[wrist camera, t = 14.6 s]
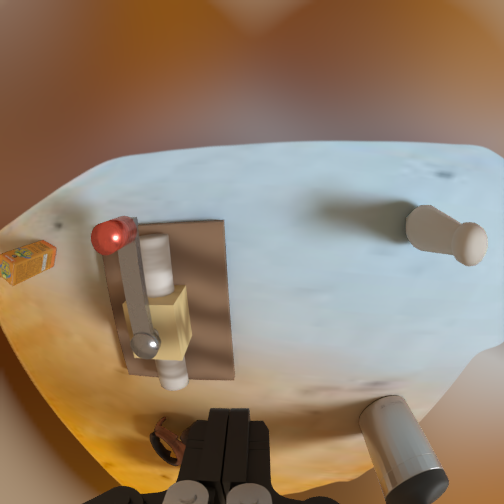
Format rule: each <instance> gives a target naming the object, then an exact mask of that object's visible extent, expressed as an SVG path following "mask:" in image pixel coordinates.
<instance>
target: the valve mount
mask: <svg viewBox="0 0 504 504" xmlns="http://www.w3.org/2000/svg"><path fill="white" fill-rule="evenodd" d="M138 231H139V240H140V248H141V256H142V263H143V270H144V277H145V284H146V290H147V296H148V302H149V308H150V313H151V319H152V324H153V329H154V331H155V332H156V333H157V334H158V335H159V337H160V339H161V347H160V349H159V350H158V352H157V354H156V356H155V357H154V358H152V359H142V358H140V357H138V356H137V355H136V354H135V353H134V352H133V351H132V349H131V346H130V342H131V339H132V338H133V331H132V327H131V322H130V318H129V313H128V308H127V303H126V298H125V293H124V287H123V282H122V276H121V270H120V263H119V257H118V250H117V251H116V252H114V253H112V254H110V255H103V261H104V268H105V273H106V279H107V285H108V290H109V295H110V300H111V305H112V310H113V314H114V319H115V323H116V327H117V331H118V336H119V340H120V343H121V347H122V351H123V355H124V358H125V362H126V365H127V369H128V372H129V375H139V376H149V377H159V380H160V384H161V386H162V387H163V388H164V389H166V390H171V391H175V390H180V389H183V388H184V387H186V386H187V385H188V383H189V379H196V380H234V377H235V371H234V359H233V347H232V334H231V321H230V307H229V293H228V278H227V262H226V246H225V228H224V220H215V221H194V222H175V223H157V224H142V225H138Z"/></svg>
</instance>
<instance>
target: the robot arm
mask: <svg viewBox="0 0 504 504" xmlns="http://www.w3.org/2000/svg"><path fill="white" fill-rule="evenodd" d="M359 425H360V428H361V431H362V434H363V437H364V440H365V442H366V445H367V448H368V451H369V454H370V457H371V460H372V462H373V465H374V468H375V471H376V474H377V477H378V480H379V483H380V486H381V489H382V492H383V495H384V498H385V501H386V504H431V503H433V502H434V501H435V500H437V499H438V498H439V497H440V496H441V495H442V494H443V493H444V492H445V490H446V489H447V487H448V485H449V480H448V478H447V476H446V474H445V472H444V470H443V468H442V466H441V464H440V462H439V460H438V459H437V456H436V455H435V453H434V451H433V449H432V447H431V445H430V443H429V442H428V440H427V438H426V436H425V434H424V432H423V431H422V429H421V427H420V425H419V424H418V422H417V420H416V418H415V416H414V415H413V413H412V411H411V409H410V408H409V406H408V404H407V403H406V401H405V399H404V398H402V397H400V396H388V397H384V398H381V399H379V400H377V401H375V402H373V403H372V404H371V405H369V406H368V407H367V408H366V409H365V410H364V411H363V413H362V414H361V416H360V418H359ZM83 504H339V503H338V502H336V501H335V500H333V499H331V498H328V497H320V496H318V497H312V498H309V499H307V500H305V501H300V500H294V499H289V498H285V497H283V496H281V495H279V494H278V493H277V492H276V491H275V490H274V489H273V487H272V485H271V475H270V447H269V429H268V428H267V426H266V425H265V423H264V422H263V421H250V410H249V408H231V409H225V408H211V409H210V412H209V417H208V421H207V420H197V421H196V422H195V423H194V425H193V426H192V427H191V428H190V430H189V434H188V438H187V442H186V446H185V451H184V455H183V459H182V463H181V467H180V471H179V475H178V479H177V481H176V483H174V484H173V485H171V486H170V487H169V489H168V490H165V491H163V492H158V493H148V494H140V493H139V492H138V491H137V490H135V489H133V488H131V487H127V486H118V487H115V488H113V489H111V490H109V491H107V492H105V493H103V494H101V495H99V496H97V497H95V498H93V499H91V500H89V501H87V502H85V503H83Z"/></svg>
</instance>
